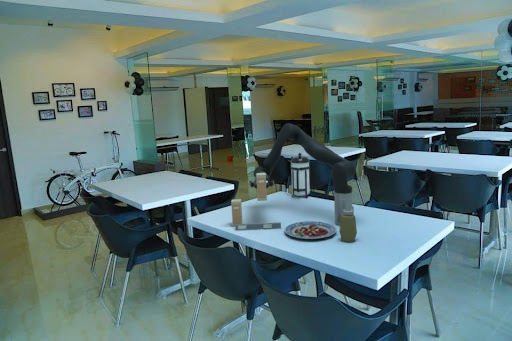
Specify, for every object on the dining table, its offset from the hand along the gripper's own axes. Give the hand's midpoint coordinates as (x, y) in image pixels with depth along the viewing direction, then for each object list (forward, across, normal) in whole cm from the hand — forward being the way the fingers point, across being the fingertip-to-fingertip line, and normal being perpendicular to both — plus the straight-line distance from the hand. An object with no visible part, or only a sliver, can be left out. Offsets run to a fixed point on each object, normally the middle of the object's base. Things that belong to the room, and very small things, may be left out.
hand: (261, 186), depth 208 cm
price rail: (+4, -3, +22) cm, 22 cm away
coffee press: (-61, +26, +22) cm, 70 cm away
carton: (-3, 0, +8) cm, 8 cm away
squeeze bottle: (+25, +40, +22) cm, 52 cm away
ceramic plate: (+13, +24, +22) cm, 35 cm away
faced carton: (-4, -14, +22) cm, 26 cm away
